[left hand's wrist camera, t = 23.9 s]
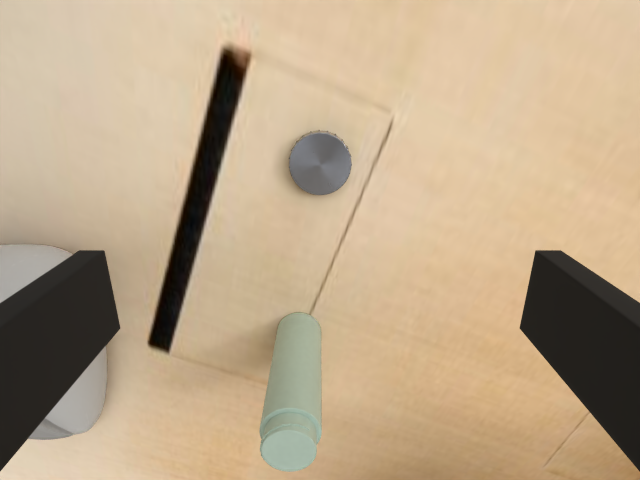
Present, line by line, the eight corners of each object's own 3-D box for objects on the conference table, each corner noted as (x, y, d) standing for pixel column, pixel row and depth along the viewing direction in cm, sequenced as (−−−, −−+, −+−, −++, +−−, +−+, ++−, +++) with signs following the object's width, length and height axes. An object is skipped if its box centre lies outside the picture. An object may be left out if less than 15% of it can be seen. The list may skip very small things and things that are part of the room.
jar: (311, 306, 42) (307, 418, 28) (327, 341, 44) (331, 465, 29) (270, 320, 43) (245, 437, 28) (287, 354, 44) (272, 482, 30)
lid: (277, 164, 37) (275, 167, 35) (317, 116, 35) (317, 117, 34) (322, 202, 38) (323, 208, 36) (362, 158, 37) (365, 161, 35)
